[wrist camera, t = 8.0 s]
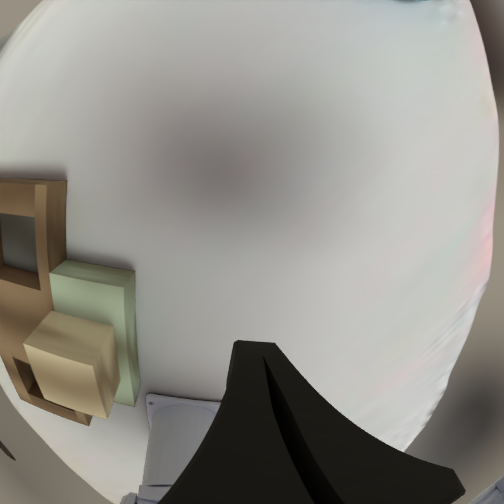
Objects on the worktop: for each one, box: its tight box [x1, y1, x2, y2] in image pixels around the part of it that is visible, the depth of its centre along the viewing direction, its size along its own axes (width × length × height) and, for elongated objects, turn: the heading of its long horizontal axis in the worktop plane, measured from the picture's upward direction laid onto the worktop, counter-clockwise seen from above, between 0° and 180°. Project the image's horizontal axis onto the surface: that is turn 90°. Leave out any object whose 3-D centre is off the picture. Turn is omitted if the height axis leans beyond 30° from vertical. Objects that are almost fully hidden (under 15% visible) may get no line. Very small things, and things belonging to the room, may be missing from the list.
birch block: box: [23, 311, 121, 419], centre depth 14 cm, size 5×5×4 cm
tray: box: [0, 178, 140, 426], centre depth 16 cm, size 22×14×2 cm, turn 170°
